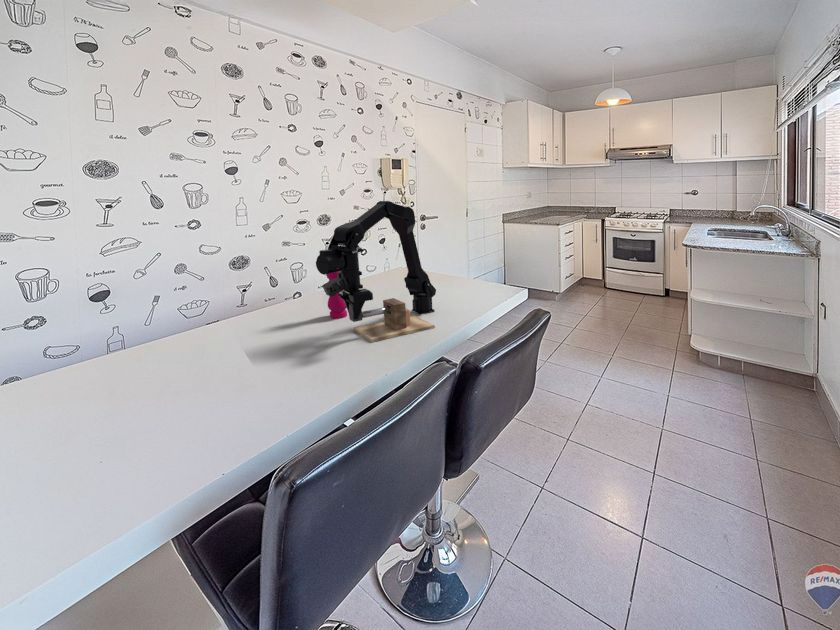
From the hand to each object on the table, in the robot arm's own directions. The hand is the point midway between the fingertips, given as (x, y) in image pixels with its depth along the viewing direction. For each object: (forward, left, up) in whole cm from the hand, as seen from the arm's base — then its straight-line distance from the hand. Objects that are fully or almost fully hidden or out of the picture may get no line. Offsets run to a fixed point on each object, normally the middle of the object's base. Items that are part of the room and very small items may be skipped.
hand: (353, 317), depth 140 cm
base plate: (-14, 0, -7) cm, 15 cm away
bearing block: (-14, 0, -7) cm, 16 cm away
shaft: (-7, 0, -1) cm, 7 cm away
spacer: (-17, 0, -6) cm, 18 cm away
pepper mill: (-4, -26, -7) cm, 27 cm away
